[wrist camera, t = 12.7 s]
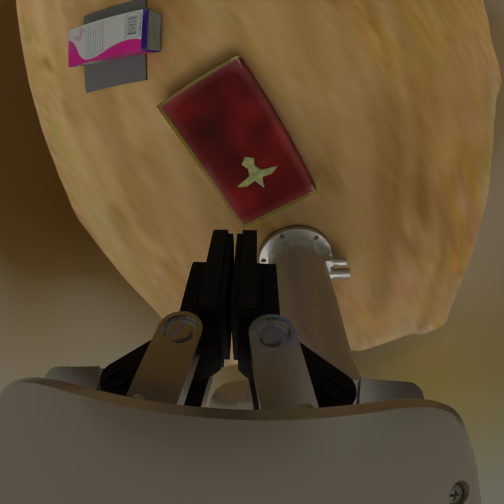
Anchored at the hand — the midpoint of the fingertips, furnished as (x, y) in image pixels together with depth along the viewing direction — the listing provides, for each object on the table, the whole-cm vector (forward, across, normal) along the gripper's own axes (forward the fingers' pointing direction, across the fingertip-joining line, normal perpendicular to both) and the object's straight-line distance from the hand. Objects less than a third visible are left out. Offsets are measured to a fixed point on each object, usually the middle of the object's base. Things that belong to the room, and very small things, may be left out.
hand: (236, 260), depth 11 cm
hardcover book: (+30, +1, +2) cm, 30 cm away
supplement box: (+26, +11, -14) cm, 31 cm away
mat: (+29, +19, -14) cm, 37 cm away
